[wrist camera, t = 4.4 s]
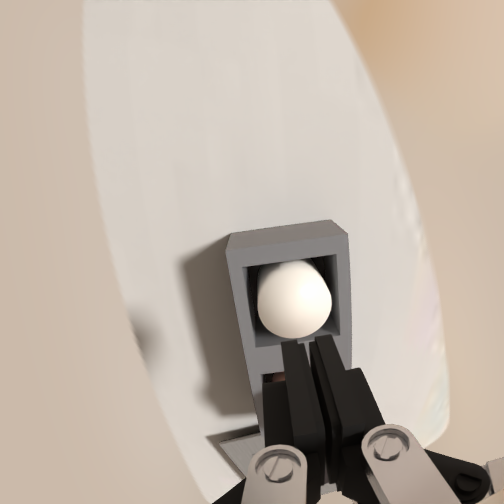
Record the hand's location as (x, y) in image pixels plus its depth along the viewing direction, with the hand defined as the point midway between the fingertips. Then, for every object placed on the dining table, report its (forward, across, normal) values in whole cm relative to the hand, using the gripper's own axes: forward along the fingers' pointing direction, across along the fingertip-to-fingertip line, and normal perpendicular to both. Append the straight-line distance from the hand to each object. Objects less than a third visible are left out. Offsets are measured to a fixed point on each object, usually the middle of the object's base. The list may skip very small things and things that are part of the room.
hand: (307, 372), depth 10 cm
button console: (+11, 0, +5) cm, 12 cm away
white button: (+11, 0, +1) cm, 11 cm away
